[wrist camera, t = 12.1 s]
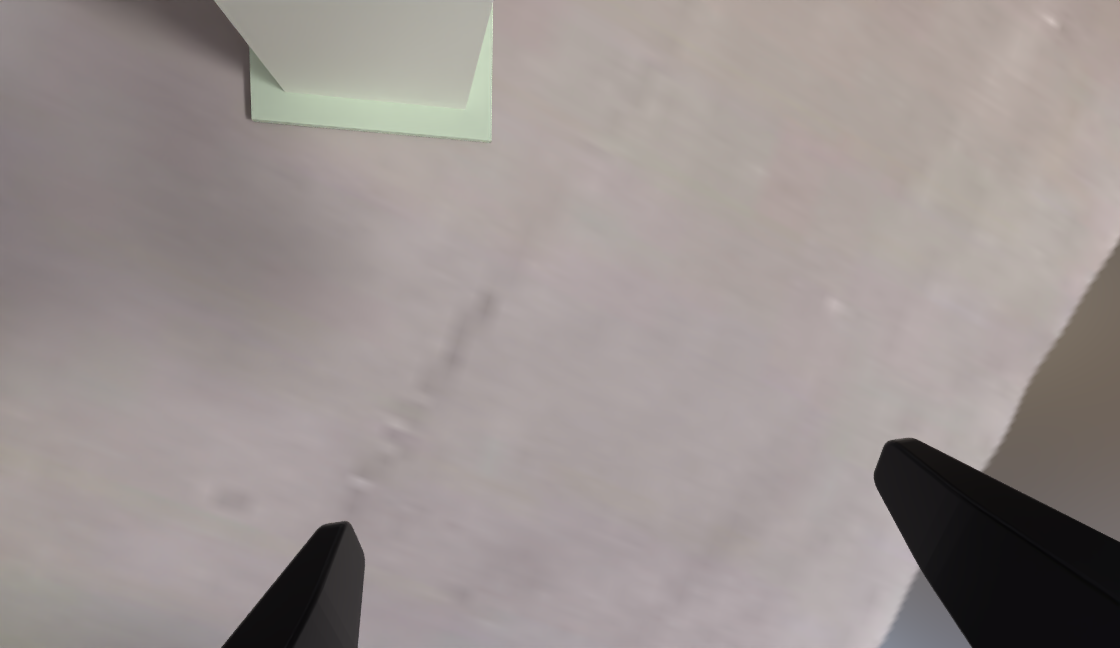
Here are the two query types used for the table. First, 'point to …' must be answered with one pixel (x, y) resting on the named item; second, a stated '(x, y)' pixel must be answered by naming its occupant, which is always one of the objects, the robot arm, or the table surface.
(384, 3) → the white chamfered pillar
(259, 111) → the sage pad
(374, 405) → the table surface
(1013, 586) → the robot arm
